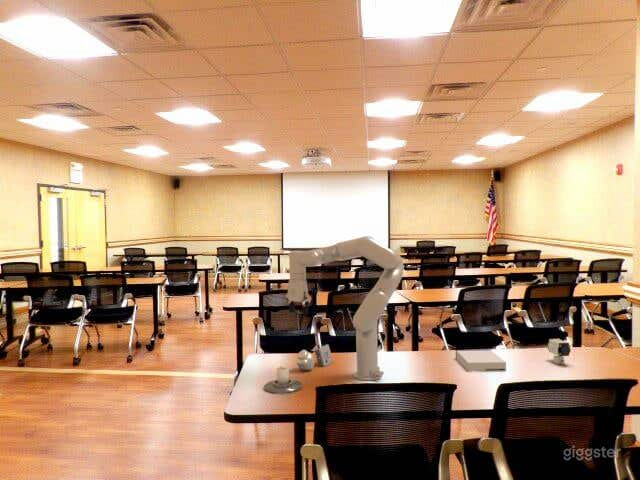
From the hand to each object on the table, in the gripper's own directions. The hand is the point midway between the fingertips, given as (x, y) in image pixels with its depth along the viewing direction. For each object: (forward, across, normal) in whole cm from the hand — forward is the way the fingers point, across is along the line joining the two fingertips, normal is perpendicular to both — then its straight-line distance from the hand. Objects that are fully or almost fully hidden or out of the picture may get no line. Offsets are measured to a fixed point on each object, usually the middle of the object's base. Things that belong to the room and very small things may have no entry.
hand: (298, 313), depth 222 cm
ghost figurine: (+28, -2, +5) cm, 29 cm away
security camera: (+29, +79, +96) cm, 128 cm away
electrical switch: (+28, -3, +18) cm, 34 cm away
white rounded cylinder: (+27, +10, -18) cm, 34 cm away
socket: (+28, +10, -18) cm, 35 cm away
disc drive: (+29, +53, +69) cm, 92 cm away
